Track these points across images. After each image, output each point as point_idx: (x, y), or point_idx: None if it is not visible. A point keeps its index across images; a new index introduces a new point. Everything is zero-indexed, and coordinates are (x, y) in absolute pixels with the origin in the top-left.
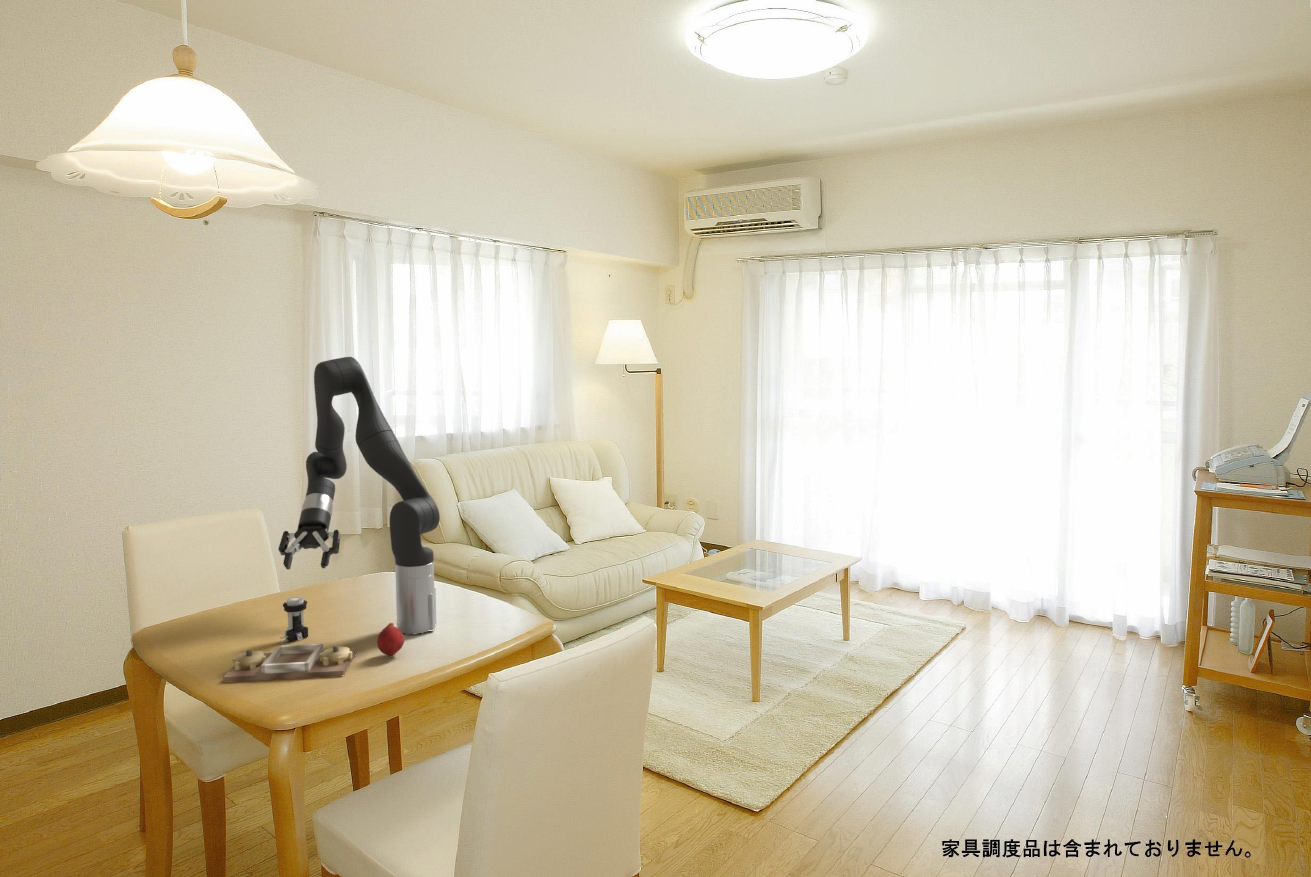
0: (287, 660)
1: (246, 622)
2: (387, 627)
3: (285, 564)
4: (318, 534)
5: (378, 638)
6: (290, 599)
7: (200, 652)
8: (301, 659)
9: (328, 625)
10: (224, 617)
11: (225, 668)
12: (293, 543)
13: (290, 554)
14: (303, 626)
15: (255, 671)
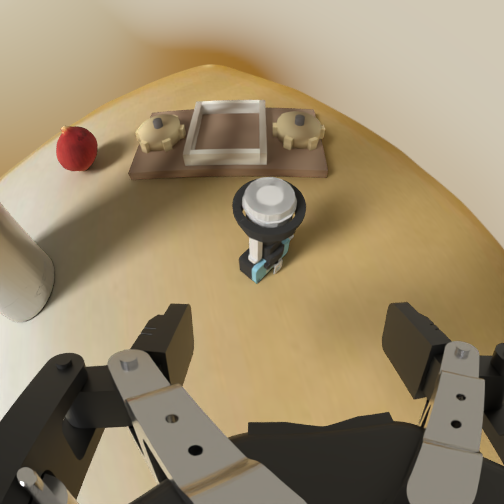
0: (240, 139)
1: None
2: (72, 127)
3: (406, 302)
4: (195, 495)
5: (91, 135)
6: (284, 194)
7: (424, 219)
8: (217, 140)
9: (207, 356)
10: None
11: (339, 151)
12: (468, 377)
13: (425, 342)
14: (251, 262)
15: (276, 116)
